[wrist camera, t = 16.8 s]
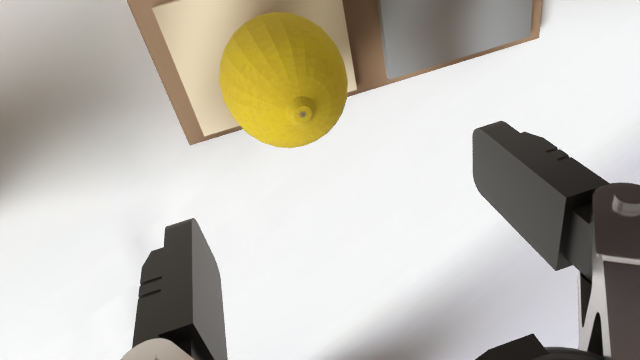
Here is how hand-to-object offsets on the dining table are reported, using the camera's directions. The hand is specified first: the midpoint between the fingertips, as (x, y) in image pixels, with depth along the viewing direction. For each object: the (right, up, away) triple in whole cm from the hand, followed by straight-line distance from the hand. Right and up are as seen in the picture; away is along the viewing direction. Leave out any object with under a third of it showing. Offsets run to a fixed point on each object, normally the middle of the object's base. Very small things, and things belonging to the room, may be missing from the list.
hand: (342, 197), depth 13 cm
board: (+1, +10, +12) cm, 16 cm away
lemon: (-3, +7, +11) cm, 14 cm away
